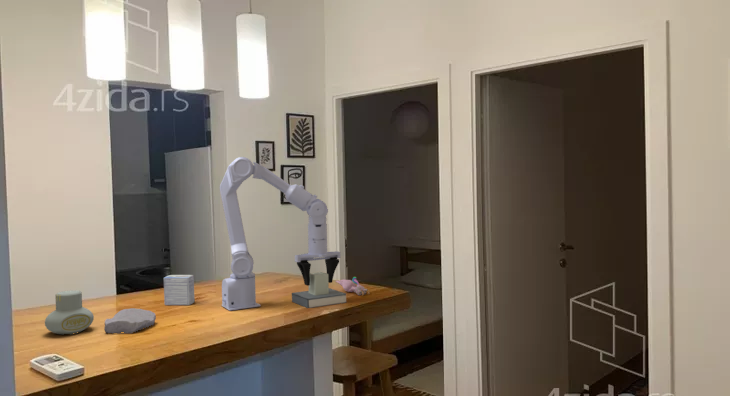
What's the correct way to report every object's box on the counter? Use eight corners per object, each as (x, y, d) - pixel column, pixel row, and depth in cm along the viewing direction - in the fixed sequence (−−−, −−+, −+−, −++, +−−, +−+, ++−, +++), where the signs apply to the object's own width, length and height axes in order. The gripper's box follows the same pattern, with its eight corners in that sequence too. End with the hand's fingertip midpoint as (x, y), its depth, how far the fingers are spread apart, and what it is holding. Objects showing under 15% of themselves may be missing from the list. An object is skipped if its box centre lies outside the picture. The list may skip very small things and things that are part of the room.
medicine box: (195, 302, 176) (194, 274, 175) (189, 305, 171) (188, 277, 171) (170, 302, 176) (169, 274, 176) (164, 305, 172) (163, 277, 172)
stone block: (158, 328, 152) (121, 321, 152) (160, 311, 152) (124, 304, 152) (139, 343, 140) (100, 335, 140) (142, 324, 140) (103, 316, 140)
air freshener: (52, 339, 136) (50, 298, 136) (40, 333, 142) (39, 293, 142) (99, 330, 144) (97, 291, 144) (86, 324, 150) (84, 287, 150)
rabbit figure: (373, 298, 184) (344, 285, 195) (374, 280, 183) (345, 268, 194) (358, 301, 179) (329, 287, 190) (360, 283, 179) (331, 270, 190)
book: (307, 309, 165) (307, 298, 165) (291, 302, 174) (291, 292, 174) (346, 303, 172) (346, 293, 171) (329, 297, 181) (329, 288, 181)
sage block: (315, 295, 170) (314, 275, 169) (308, 293, 173) (308, 273, 173) (328, 293, 172) (328, 273, 172) (321, 291, 176) (321, 272, 176)
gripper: (301, 241, 165) (302, 288, 165) (344, 238, 173) (345, 282, 173) (291, 239, 171) (292, 284, 171) (334, 236, 179) (334, 279, 179)
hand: (318, 283), depth 173 cm, fingers open, 7 cm apart
